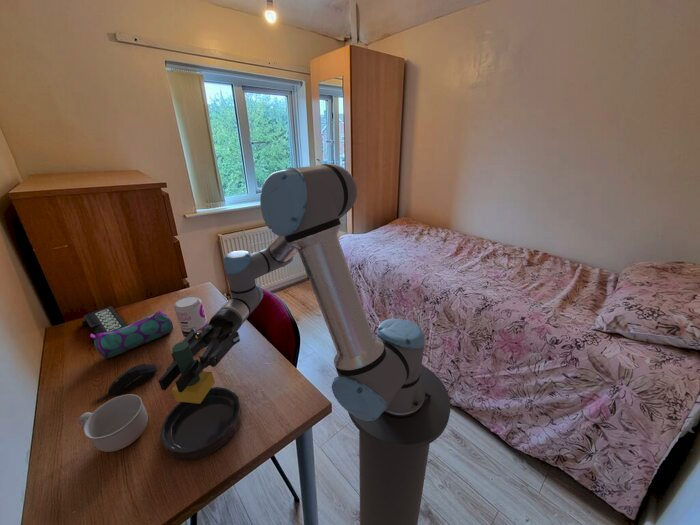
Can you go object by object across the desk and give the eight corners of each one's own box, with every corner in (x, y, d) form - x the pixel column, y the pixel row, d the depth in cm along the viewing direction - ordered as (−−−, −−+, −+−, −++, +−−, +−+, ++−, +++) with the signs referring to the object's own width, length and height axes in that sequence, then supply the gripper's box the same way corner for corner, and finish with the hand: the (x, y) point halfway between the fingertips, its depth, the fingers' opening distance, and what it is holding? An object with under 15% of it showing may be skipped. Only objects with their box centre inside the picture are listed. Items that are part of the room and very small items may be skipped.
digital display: (78, 315, 109) (110, 305, 116) (81, 322, 110) (113, 311, 117) (91, 338, 97) (126, 324, 104) (95, 346, 98) (129, 332, 105)
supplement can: (211, 327, 106) (201, 292, 100) (209, 341, 99) (199, 304, 93) (186, 332, 104) (175, 297, 97) (183, 347, 97) (171, 310, 90)
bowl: (253, 399, 77) (251, 390, 75) (217, 467, 61) (214, 457, 60) (195, 393, 79) (192, 384, 78) (147, 456, 64) (141, 446, 62)
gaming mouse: (93, 396, 79) (88, 385, 77) (152, 364, 90) (148, 354, 88) (100, 408, 75) (94, 397, 74) (161, 373, 86) (157, 363, 84)
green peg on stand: (215, 382, 69) (201, 338, 63) (200, 403, 64) (183, 357, 58) (192, 380, 70) (177, 336, 64) (175, 401, 64) (157, 355, 59)
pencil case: (167, 324, 108) (160, 303, 104) (176, 334, 103) (169, 312, 99) (99, 354, 94) (87, 330, 90) (105, 367, 89) (92, 343, 85)
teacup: (162, 420, 72) (152, 397, 69) (123, 464, 62) (110, 441, 59) (117, 410, 75) (105, 388, 71) (73, 452, 65) (57, 429, 62)
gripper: (258, 331, 80) (210, 403, 59) (205, 328, 82) (140, 395, 61) (254, 309, 77) (202, 376, 56) (199, 306, 79) (129, 369, 58)
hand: (170, 386), depth 59 cm, fingers closed on green peg on stand, 3 cm apart
